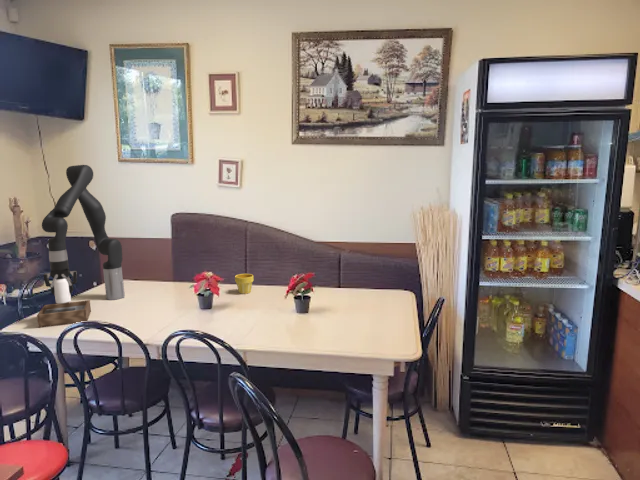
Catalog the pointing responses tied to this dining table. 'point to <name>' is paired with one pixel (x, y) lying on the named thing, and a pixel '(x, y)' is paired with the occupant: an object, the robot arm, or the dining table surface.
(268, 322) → the dining table surface
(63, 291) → the can
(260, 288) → the dining table surface
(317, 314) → the dining table surface
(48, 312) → the box
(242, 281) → the plant pot
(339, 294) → the dining table surface
